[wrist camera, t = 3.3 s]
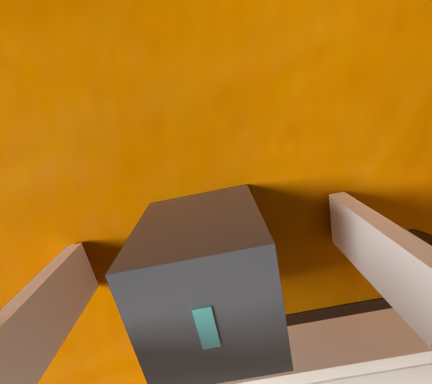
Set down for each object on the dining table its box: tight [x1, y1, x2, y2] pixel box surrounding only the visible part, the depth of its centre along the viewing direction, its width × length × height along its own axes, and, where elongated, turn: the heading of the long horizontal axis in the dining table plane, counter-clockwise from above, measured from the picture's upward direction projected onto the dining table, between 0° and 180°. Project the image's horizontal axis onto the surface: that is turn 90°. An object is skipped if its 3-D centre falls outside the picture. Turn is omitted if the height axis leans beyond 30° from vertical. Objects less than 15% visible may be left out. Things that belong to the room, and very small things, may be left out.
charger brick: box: [105, 184, 294, 384], centre depth 11 cm, size 5×5×6 cm
